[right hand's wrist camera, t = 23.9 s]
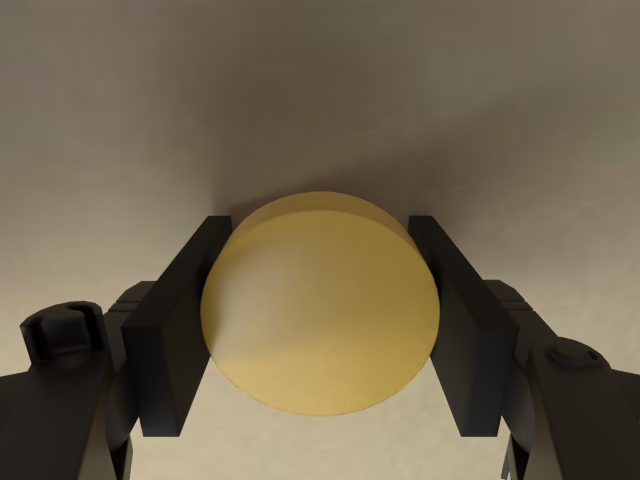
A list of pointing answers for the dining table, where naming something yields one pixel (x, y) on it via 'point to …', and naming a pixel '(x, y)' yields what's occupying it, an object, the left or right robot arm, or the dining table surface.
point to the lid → (320, 305)
